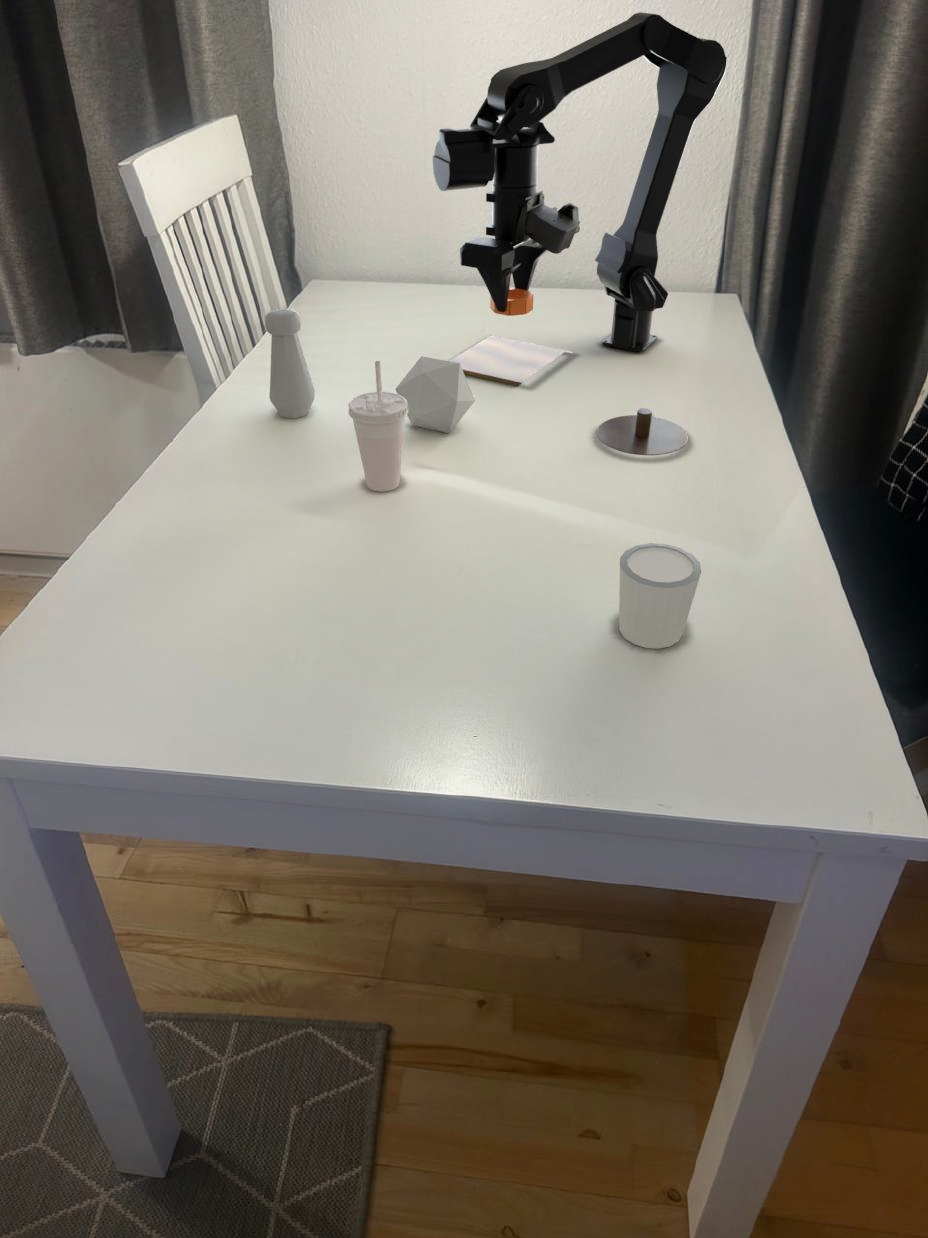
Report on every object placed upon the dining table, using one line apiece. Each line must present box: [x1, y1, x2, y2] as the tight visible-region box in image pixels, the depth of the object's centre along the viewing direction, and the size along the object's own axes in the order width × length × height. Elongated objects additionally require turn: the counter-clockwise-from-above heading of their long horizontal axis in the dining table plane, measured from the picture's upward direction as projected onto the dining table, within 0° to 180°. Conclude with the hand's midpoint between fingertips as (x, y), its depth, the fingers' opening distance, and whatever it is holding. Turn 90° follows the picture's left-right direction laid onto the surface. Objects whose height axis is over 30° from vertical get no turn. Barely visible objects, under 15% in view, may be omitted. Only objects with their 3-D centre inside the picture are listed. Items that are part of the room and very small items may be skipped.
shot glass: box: [618, 542, 702, 650], centre depth 79 cm, size 7×7×7 cm
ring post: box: [596, 407, 689, 456], centre depth 110 cm, size 11×11×4 cm
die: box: [395, 356, 476, 434], centre depth 113 cm, size 8×9×10 cm
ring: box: [489, 287, 534, 317], centre depth 126 cm, size 6×6×2 cm
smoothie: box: [348, 360, 408, 493], centre depth 99 cm, size 6×6×14 cm
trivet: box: [449, 334, 575, 387], centre depth 132 cm, size 14×14×1 cm
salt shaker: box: [264, 308, 316, 420], centre depth 115 cm, size 6×6×13 cm
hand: (511, 305), depth 127 cm, fingers closed on ring, 5 cm apart
